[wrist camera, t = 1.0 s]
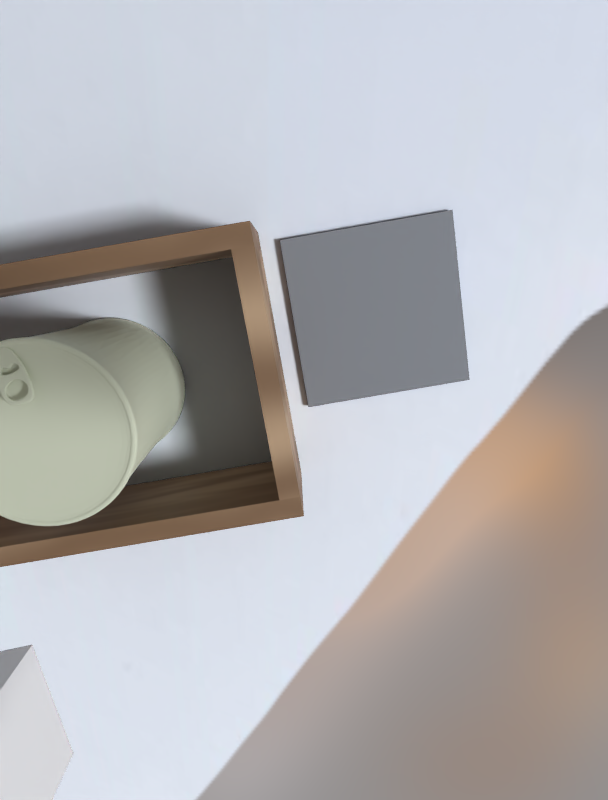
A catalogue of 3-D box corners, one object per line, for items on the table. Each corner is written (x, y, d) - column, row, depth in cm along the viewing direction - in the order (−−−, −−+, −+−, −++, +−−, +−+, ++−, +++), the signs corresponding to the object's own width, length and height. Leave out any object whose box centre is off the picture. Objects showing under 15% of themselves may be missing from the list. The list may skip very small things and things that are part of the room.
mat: (280, 240, 34) (279, 239, 33) (450, 210, 34) (452, 209, 33) (308, 405, 36) (308, 407, 36) (467, 378, 36) (469, 379, 36)
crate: (-87, 292, 34) (-182, 296, 27) (257, 232, 34) (249, 220, 27) (-11, 525, 38) (-77, 579, 31) (301, 472, 37) (303, 515, 31)
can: (159, 301, 35) (92, 312, 23) (203, 432, 37) (162, 504, 25) (25, 339, 35) (-108, 369, 23) (76, 467, 37) (-23, 554, 25)
